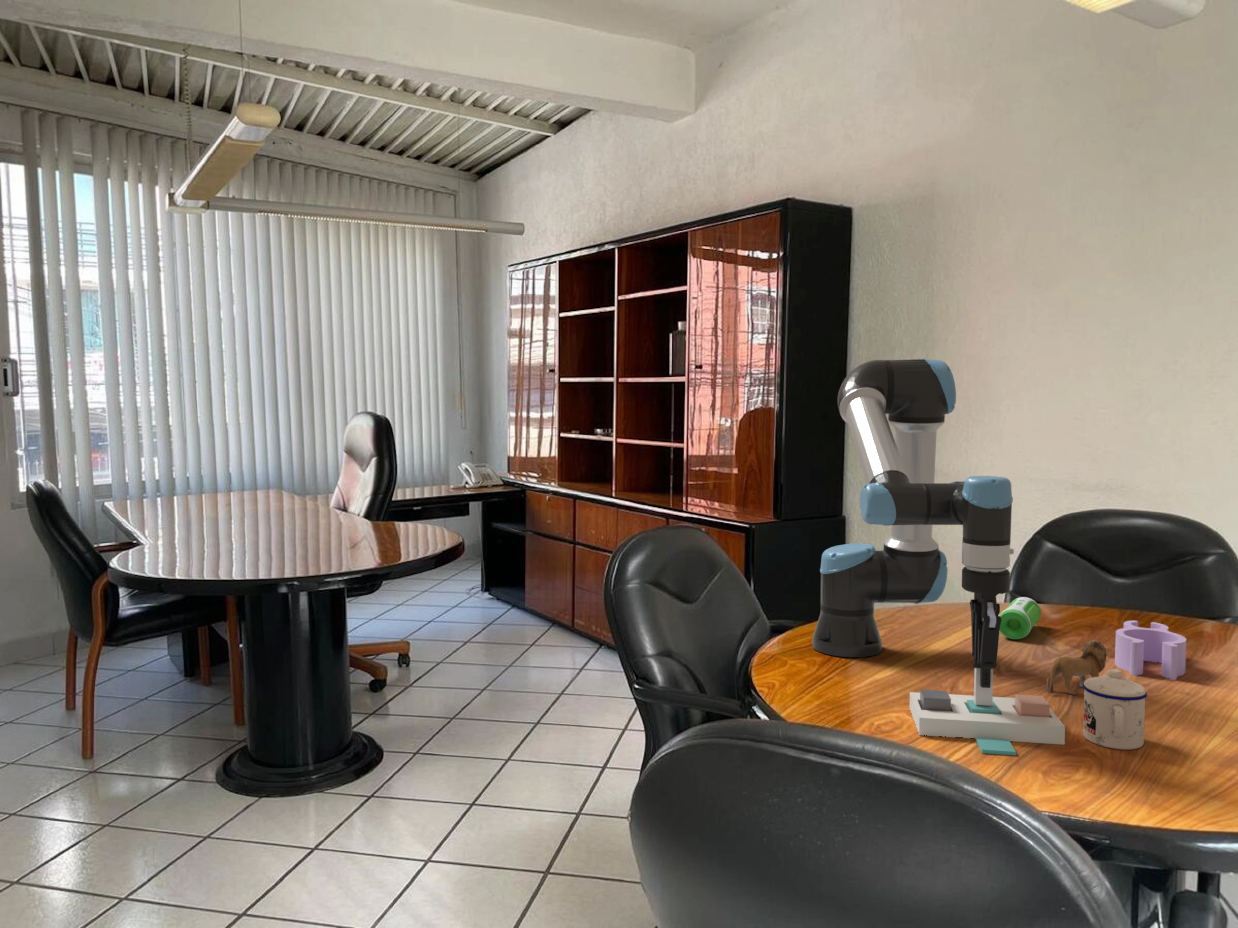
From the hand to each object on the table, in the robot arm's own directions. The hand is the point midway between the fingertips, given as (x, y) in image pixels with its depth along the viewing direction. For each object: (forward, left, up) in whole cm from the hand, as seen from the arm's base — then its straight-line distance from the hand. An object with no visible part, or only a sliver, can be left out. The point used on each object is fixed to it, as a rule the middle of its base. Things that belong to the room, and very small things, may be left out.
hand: (983, 703), depth 148 cm
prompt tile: (+10, 0, -4) cm, 11 cm away
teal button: (0, 0, -3) cm, 3 cm away
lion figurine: (-23, +21, -4) cm, 32 cm away
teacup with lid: (+4, +19, -4) cm, 20 cm away
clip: (-43, +41, -4) cm, 60 cm away
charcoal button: (0, -8, -2) cm, 8 cm away
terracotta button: (0, +8, -2) cm, 8 cm away
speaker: (-65, +21, -4) cm, 68 cm away
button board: (0, 0, -4) cm, 4 cm away
